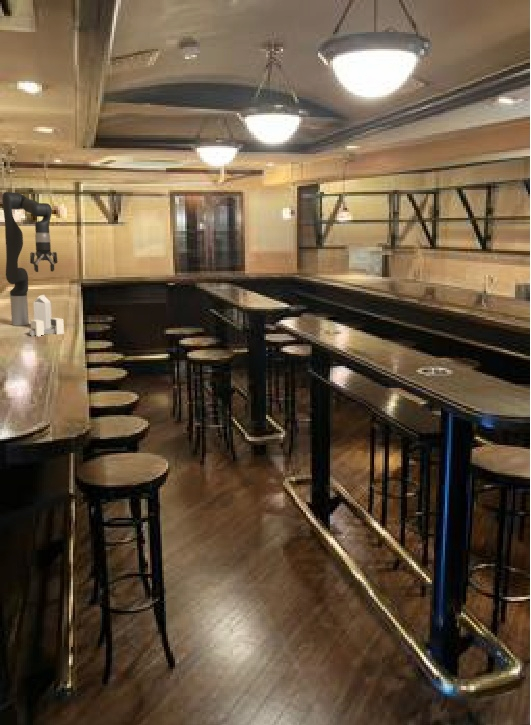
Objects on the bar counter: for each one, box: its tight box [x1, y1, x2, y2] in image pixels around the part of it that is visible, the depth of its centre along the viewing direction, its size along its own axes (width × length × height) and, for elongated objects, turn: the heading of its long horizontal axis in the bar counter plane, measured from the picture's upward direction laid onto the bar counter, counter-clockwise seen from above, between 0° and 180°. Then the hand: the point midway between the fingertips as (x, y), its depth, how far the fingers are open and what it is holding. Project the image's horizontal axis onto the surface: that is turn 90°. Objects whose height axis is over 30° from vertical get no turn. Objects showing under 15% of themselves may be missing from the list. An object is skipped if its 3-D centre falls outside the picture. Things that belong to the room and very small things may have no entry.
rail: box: [29, 328, 56, 337], centre depth 335 cm, size 2×17×3 cm, turn 134°
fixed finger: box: [51, 317, 65, 335], centre depth 339 cm, size 7×4×8 cm, turn 44°
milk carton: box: [33, 294, 53, 329], centre depth 353 cm, size 7×7×19 cm
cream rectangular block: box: [30, 319, 45, 337], centre depth 332 cm, size 7×4×8 cm, turn 44°
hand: (44, 271), depth 337 cm, fingers open, 8 cm apart
